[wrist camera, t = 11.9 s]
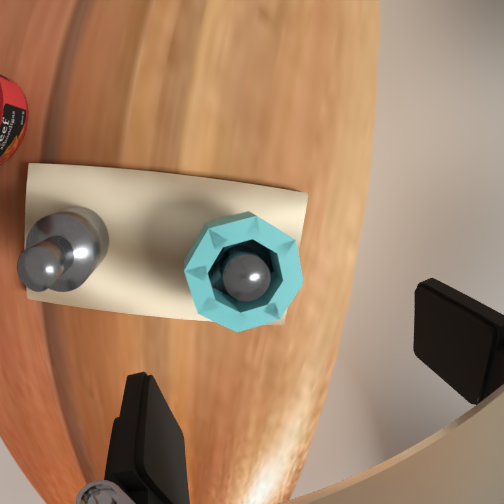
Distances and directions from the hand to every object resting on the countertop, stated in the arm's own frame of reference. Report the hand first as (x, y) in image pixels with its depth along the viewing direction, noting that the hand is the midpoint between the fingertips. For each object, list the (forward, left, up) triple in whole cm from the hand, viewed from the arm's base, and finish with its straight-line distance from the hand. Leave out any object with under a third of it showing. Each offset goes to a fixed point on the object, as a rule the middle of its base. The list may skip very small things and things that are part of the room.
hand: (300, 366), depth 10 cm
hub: (0, 0, -15) cm, 15 cm away
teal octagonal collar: (0, 0, -13) cm, 13 cm away
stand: (0, -12, -15) cm, 19 cm away
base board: (0, -6, -17) cm, 18 cm away
